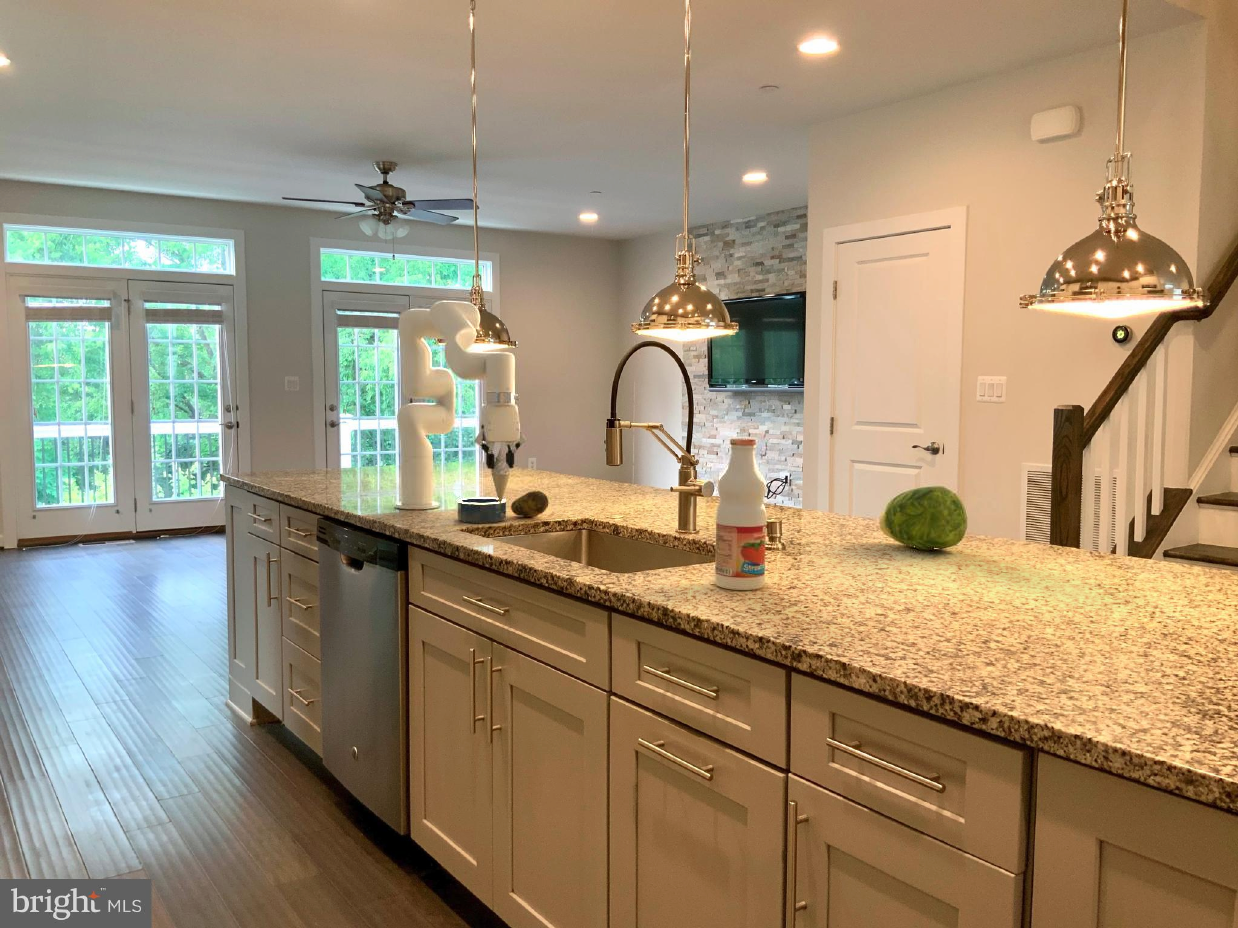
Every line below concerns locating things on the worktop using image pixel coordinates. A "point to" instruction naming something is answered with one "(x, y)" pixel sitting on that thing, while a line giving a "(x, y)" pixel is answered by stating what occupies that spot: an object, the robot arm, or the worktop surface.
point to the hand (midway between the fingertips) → (500, 467)
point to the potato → (530, 504)
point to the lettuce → (925, 518)
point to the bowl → (481, 510)
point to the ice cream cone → (500, 475)
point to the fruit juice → (741, 521)
